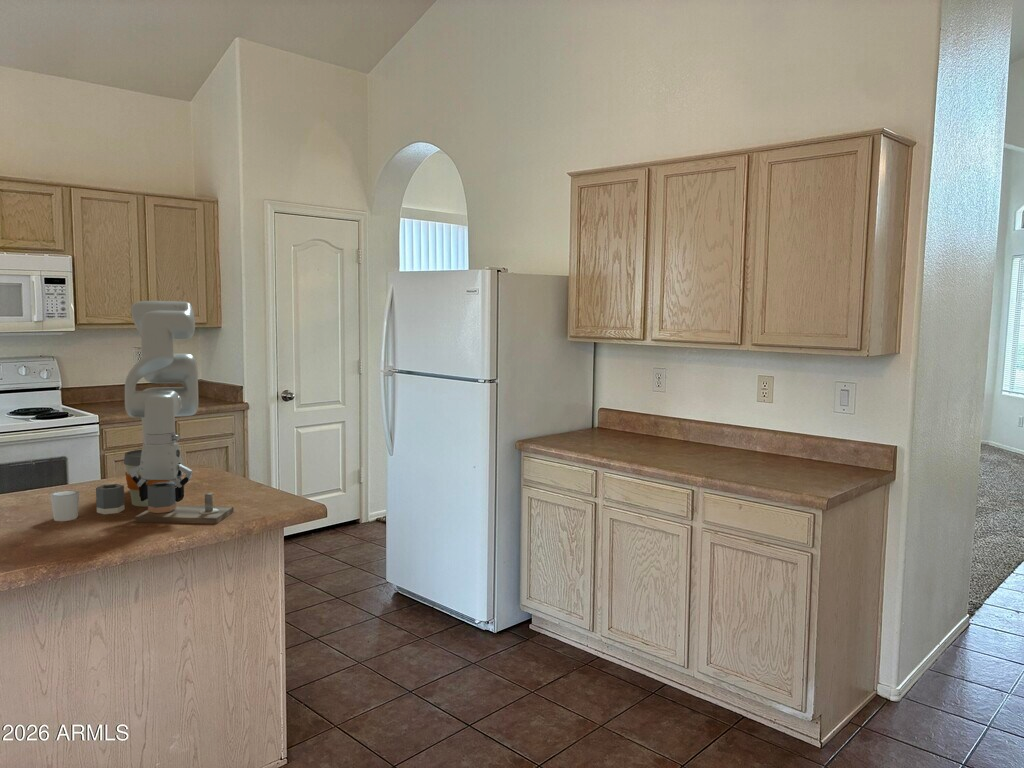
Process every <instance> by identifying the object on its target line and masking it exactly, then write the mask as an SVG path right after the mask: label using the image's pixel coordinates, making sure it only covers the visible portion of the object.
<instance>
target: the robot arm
mask: <svg viewBox="0 0 1024 768" xmlns="http://www.w3.org/2000/svg"><path fill="white" fill-rule="evenodd" d="M194 313H195V312H194V309H193V306H192V304H191V303H190V302H187V301H174V300H173V301H171V300H169V301H167V300H141V301H136V302H135V303H133V304H131V309H130V314H131V319H132V322H133V323H134V326H135V329H137V331H138V332H137V333H138V334H139V337H140V340H141V342H140V345H141V346H140V347H141V348H140V349H141V353H140V354H141V358H140V359H139V360H138V361H137V362H136V363H135V364H134V365H133V366H132V367H131V369H130V370H129V371H128V373H127V376H126V379H125V382H124V409H125V413H126V414H127V415H128V416H129V417H131V418H136V419H139V418H141V426H142V448H141V449H142V452H141V461H140V465H139V466H137V467H135V468H133V469H131V470H129V473H130V475H131V477H132V479H133V481H134V482H135V483H136V484H137V486H138V487H139V497H140V499H141V501H144V500H146V499H148V488H147V486H148V484H146V483H147V482H148V480H157V481H169V483H174V484H175V501H176V503H179V502H181V501H182V500H183V499H184V497H185V486H186V484H187V483H189V481H190V480H191V478H192V476H193V474H194V471H193V470H192V469H190V468H189V467H187V466H185V465H183V459H182V452H181V448H180V443H179V442H177V441H180V439H181V436H180V435H179V434H177V432H176V419H175V417H189V416H193V415H196V413H197V412H198V410H199V378H198V377H199V376H198V375H199V372H198V363H197V359H196V357H194V356H193V355H192V354H191V353H174V340H189V339H192V337H193V336H194V335H195V330H196V321H195V314H194ZM143 378H144V380H145V381H146V382H148V383H150V384H181V385H182V386H162V387H161V386H160V387H159V386H158V387H157V386H156V387H155V386H154V387H149V388H145V389H143V390H136V389H137V388H136V387H137V384H138V382H140V380H141V379H143ZM139 470H140V475H141V478H140V477H139V476H138V475H137V471H139ZM184 474H185V475H184ZM183 475H184V477H182V476H183Z"/></svg>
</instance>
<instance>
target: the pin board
mask: <svg viewBox="0 0 1024 768" xmlns="http://www.w3.org/2000/svg"><path fill="white" fill-rule="evenodd" d="M213 494H214V493H207V492H206V493H204V505H176V509H174V510H172V511H170V512H163V513H153V512H149V511H148V509H147V510H146V509H145V510H144V511H143V512H141V513H139V514H137V515H135V516H134V521H135V523H170V524H171V523H172V524H174V523H175V524H208V525H209V524H211V525H212V524H214V525H215V524H218V523H220V522H221V521H223V520H224V519H225V518H227V517H228V516H230V515H232V513H234V506H220V505H218V506H214V500H213V499H214V498H213V496H214V495H213Z"/></svg>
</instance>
